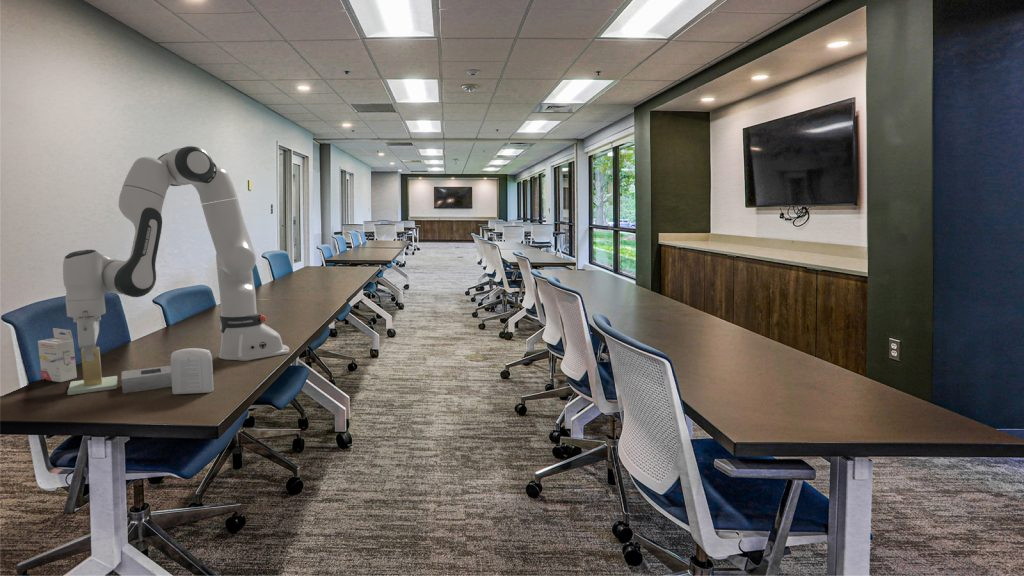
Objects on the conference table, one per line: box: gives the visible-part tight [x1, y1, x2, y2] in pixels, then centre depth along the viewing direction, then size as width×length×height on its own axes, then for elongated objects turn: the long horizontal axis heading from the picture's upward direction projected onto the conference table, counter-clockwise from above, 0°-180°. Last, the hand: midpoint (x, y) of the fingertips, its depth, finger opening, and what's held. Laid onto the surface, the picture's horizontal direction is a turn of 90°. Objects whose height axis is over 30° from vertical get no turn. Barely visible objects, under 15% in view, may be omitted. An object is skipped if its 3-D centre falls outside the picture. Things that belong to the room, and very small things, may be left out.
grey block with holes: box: [120, 364, 172, 394], centre depth 169 cm, size 18×9×4 cm, turn 122°
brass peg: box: [80, 346, 103, 386], centre depth 166 cm, size 4×4×10 cm
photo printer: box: [170, 347, 215, 395], centre depth 161 cm, size 10×4×12 cm, turn 103°
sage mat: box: [67, 375, 118, 396], centre depth 167 cm, size 11×11×1 cm
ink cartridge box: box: [37, 327, 78, 383], centre depth 174 cm, size 9×5×15 cm, turn 71°
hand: (91, 357), depth 166 cm, fingers open, 8 cm apart
